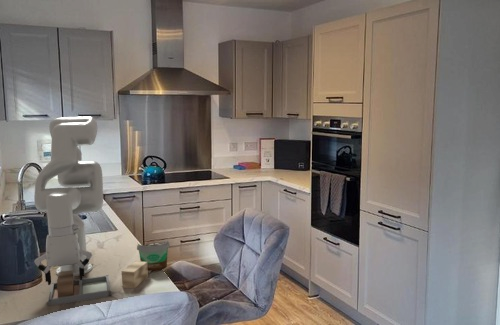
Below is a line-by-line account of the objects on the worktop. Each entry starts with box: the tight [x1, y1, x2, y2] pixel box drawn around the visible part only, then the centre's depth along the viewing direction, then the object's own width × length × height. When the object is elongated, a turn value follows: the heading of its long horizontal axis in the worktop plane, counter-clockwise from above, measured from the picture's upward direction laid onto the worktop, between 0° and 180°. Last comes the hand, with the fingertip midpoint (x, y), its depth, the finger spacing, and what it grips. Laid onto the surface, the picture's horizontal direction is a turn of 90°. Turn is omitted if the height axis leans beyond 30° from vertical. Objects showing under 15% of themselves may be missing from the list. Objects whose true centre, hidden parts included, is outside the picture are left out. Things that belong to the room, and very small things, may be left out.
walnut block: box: [56, 270, 75, 298], centre depth 148 cm, size 10×4×6 cm, turn 20°
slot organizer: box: [48, 274, 112, 306], centre depth 149 cm, size 15×18×2 cm
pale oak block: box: [121, 260, 149, 289], centre depth 157 cm, size 10×4×6 cm, turn 166°
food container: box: [136, 239, 171, 273], centre depth 168 cm, size 12×6×10 cm, turn 114°
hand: (65, 281), depth 148 cm, fingers open, 9 cm apart
